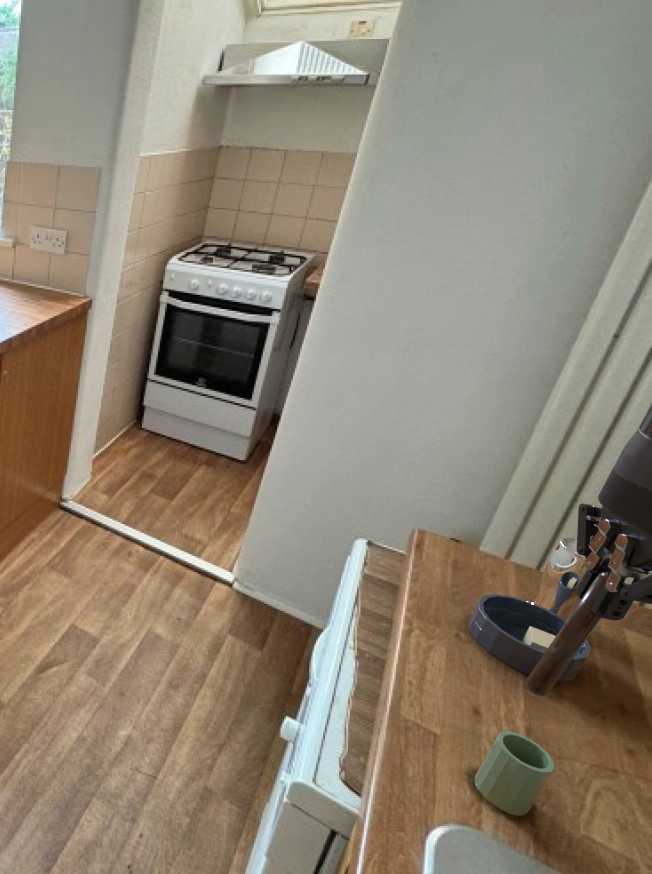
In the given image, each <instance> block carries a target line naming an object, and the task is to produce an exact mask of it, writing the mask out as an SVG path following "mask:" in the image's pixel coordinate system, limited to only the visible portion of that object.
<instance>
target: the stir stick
mask: <svg viewBox="0 0 652 874" xmlns="http://www.w3.org/2000/svg"><path fill="white" fill-rule="evenodd" d="M610 574H611V571H602V572H600V573H599V574H598V575H597V577H596V578H595V580H594V581H593V583H592V584H591V586H590V587H589V588H588V590H587V591H586V593H585V594H584V596H583V597H582V599H581V600H580V602H579V603H578V605H577V606H576V608H575V609H574V611H573V612H572V614H571V615H570V616H569V618H568V619H567V621H566V622H565V624H564V625H563V627H562V628H561V630H560V631H559V633H558V634H557V636H556V637H555V639H554V640H553V641H552V643H551V644H550V646H549V647H548V649H547V650H546V652H545V653H544V655H543V656H542V658H541V659H540V661H539V662H538V664H537V665H536V666H535V668H534V669H533V671H532V672H531V674H530V675H529V674H528V677H527V678H526V680H525V686H526V688H527V690H528V691H529V692H530V693H532V694H534V695H536V696H540V697H543V696H545V697H546V696H547V695H548V694H549V693H550V692H551V690H552V689H553V687H554V686H555V685H556V683H558V681H557V680H558V679H559V678H560V676H561V675H562V673H563V672H564V670H565V669H566V668H567V666H568V665H569V663H570V662H571V661H572V659H573V658H574V656H575V655H576V654H577V652H578V651H579V649H580V648H581V646H582V645H583V644H584V642H585V641H586V639H587V640H588V638H589V637H590V636H591V634H592V633H593V631H594V630H595V628H596V627H597V626H598V624H599V623H600V621H601V620H602V618H600V617H597V616H596V615H595V614H594V613H593V612H592V611H591V608H592V606H593V604H594V602H595V601H596V599H597V597H598V595H599V594H600V592H601V590H602V588H603V587H604V586H605V587H606V582H607V580H608V578H609V576H610ZM624 583H626V580H625V581H624Z"/></svg>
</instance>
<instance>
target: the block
mask: <svg viewBox="0 0 652 874" xmlns="http://www.w3.org/2000/svg"><path fill="white" fill-rule="evenodd" d="M555 637H556V636H554V635H552V634H549V633H547V632H544V631H541V630H539V629H536V628H534V627H531V626H530V627H529V629H528V631H527V633H526V634H525V636H524V638H523V640H522V642H524V643H526V644H528V645H530V646H532V647H535V648H537V649H540V650H543V651H546V650H547V649H548V647H549V646H550V644H551V643H552V641H553V640H554V639H555Z"/></svg>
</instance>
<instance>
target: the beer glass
mask: <svg viewBox="0 0 652 874" xmlns="http://www.w3.org/2000/svg"><path fill="white" fill-rule="evenodd" d="M591 541H592V540H590V543H591ZM585 560H586V558H585V556H582V555H579V554H578V553H577V536H562V537H560V538H559V540H558V542H557V543H556V545H555V546H554V547H553V549H552V551H551V552H550V554H549V555H548V557H547V560H546V562H545V564H544V567H543V571H542V576H541V583H540V587H539V591H538V593H537V595H536V596H535V598H534V599H533V600H532V601H531V602H532V603H534V604H536V605H539V606H541V607H544V608H546V609H548V610H550V611H551V612H553V613H555V614H557V615H558V616H560V617H562V618H563V619H565V620H566V621H567V619H568V618H569V616H570V615H571V614H572V612H573V611H574V609H575V608H576V606H577V605H578V603H579V602H580V600H581V599H580V598H579V597H578V596H577V595H576V591H577V590H578V586H579V583H580V582H581V580H582V578H583V576H584V574H585V572H586V571H587V569H586V567H585V564H584V563H585Z"/></svg>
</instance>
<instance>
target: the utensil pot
mask: <svg viewBox="0 0 652 874" xmlns="http://www.w3.org/2000/svg"><path fill="white" fill-rule="evenodd" d="M555 770H556V764H555V761H554V759H553V758H552V756H551V755H550V754H549V753H548V752H547V750H546V749H545V748H543V747H542V746H541V745H540V744H538V743H537V742H535V741H534V740H532V739H531V738H529V737H527V736H525V735H522V734H521V733H517V732H514V731H510V730H505V731H504V730H503V731H501V732H499V733H498V734H497V735H496V737H495V739H494V741H493V742H492V745H490V748H489V750H488V751H487V753H486V756H485V757H484V759H483V761H482V763H481V764H480V767H479V768H478V770H477V771H476V774H475V775H474V784H475V787H476V788H477V791H478V792H479V793H480V794H481V795H482V796H483V798H485V799H486V800H487V801H488V802H489V803H490V804H491V805H493V806H494V807H496V808H497V809H499V810H501V811H503V812H505V813H507V814H510V815H512V816H518V817H521V816H525V815H527V814H528V813H529V812H530V810H531V809H532V807H533V805H534V804H535V803H536V800H537V799H538V797H539V796H540V794H541V792H542V791H543V789H544V787H545V786H546V784H547V783H548V782H549V780H550V779H551V776H552V775H553V773H554V772H555Z"/></svg>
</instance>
